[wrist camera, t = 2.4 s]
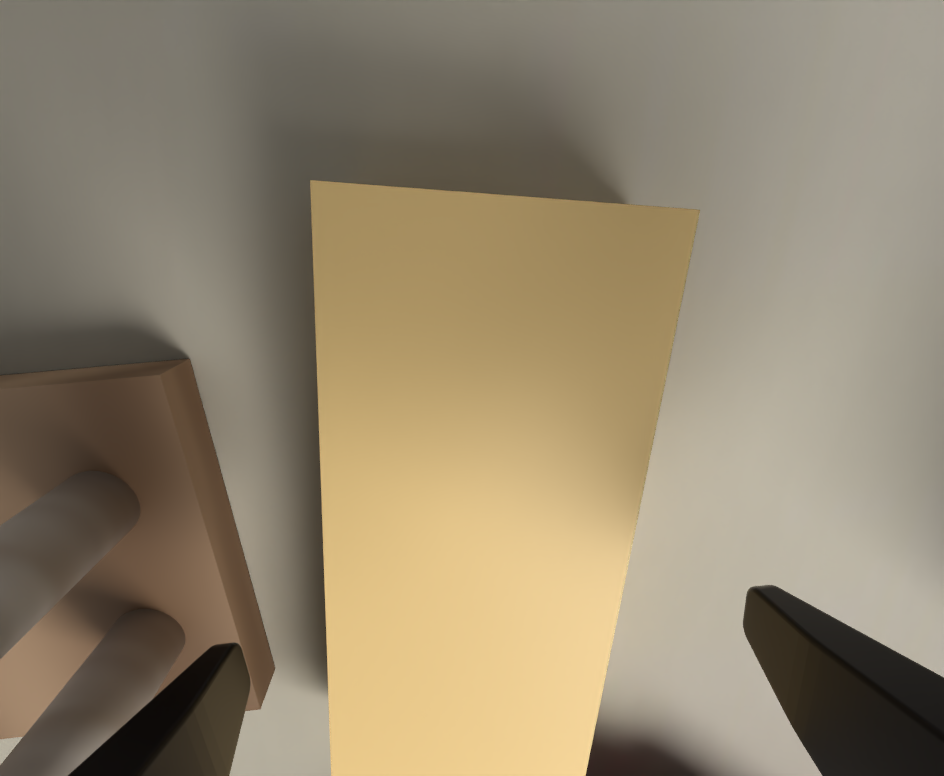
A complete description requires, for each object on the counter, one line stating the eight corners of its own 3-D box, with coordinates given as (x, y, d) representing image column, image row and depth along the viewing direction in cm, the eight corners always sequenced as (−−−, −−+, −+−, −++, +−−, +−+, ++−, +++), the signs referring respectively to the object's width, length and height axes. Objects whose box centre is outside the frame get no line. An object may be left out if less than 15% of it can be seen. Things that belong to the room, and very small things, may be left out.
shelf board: (348, 192, 10) (310, 180, 7) (626, 213, 11) (700, 209, 8) (354, 692, 15) (332, 814, 12) (551, 691, 15) (578, 808, 12)
